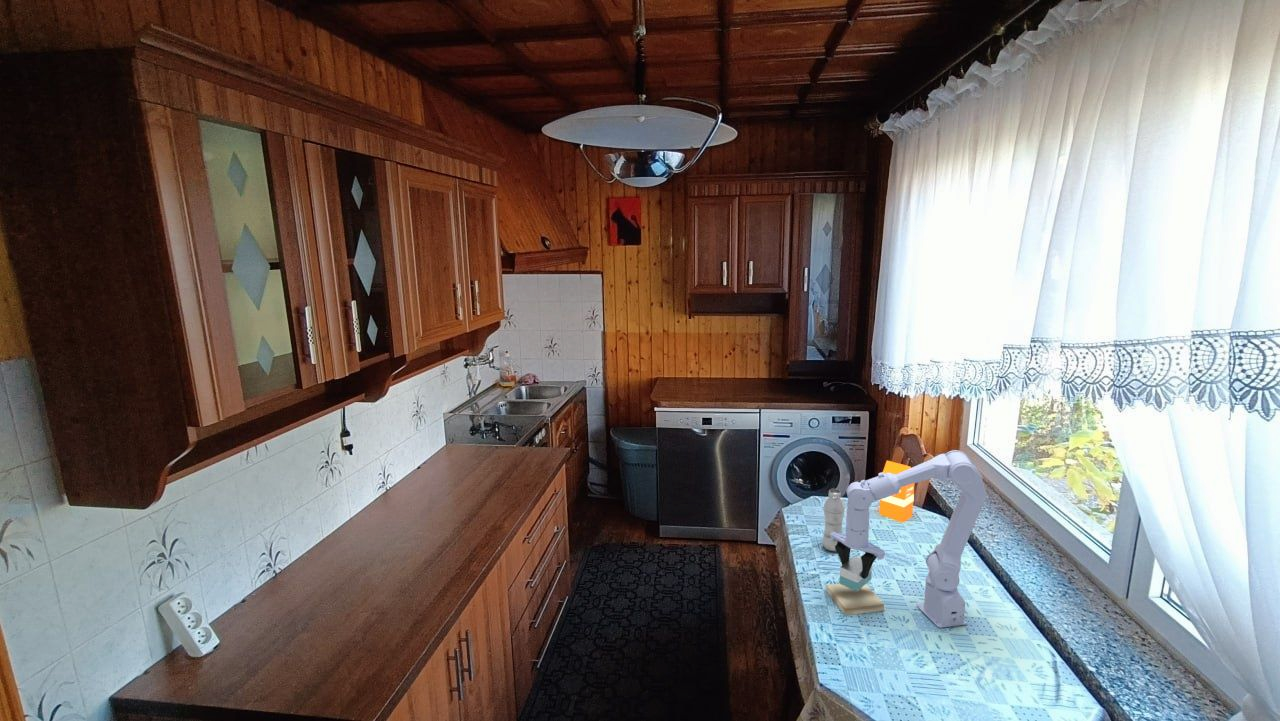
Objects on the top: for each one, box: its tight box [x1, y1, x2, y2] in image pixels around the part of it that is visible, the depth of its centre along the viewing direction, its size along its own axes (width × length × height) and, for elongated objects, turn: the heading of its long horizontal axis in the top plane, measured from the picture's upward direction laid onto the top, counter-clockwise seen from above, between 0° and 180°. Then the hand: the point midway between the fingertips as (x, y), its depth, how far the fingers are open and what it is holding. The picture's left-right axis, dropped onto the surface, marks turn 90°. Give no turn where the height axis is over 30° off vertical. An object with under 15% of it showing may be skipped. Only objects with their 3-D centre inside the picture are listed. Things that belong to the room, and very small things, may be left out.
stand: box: [825, 582, 885, 616], centre depth 153 cm, size 11×11×2 cm
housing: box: [839, 555, 873, 591], centre depth 152 cm, size 8×5×5 cm, turn 132°
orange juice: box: [878, 460, 915, 524], centre depth 200 cm, size 8×9×20 cm
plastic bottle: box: [822, 488, 846, 553], centre depth 179 cm, size 6×7×20 cm
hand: (855, 572), depth 152 cm, fingers closed on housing, 5 cm apart
